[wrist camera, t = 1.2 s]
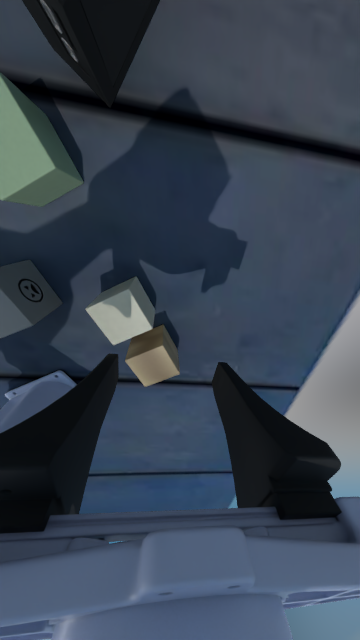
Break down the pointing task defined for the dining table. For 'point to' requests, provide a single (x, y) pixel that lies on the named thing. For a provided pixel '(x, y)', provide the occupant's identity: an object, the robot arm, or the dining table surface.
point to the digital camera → (95, 36)
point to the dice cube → (24, 297)
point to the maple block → (153, 356)
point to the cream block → (123, 311)
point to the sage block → (31, 152)
